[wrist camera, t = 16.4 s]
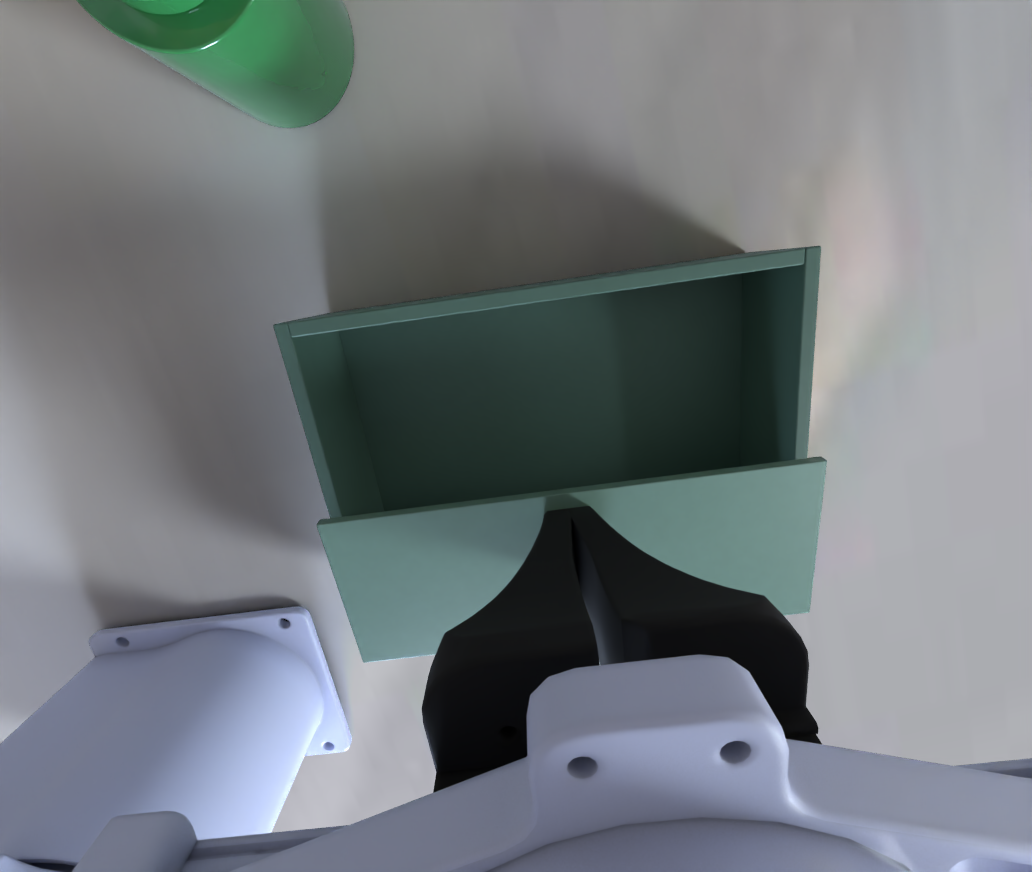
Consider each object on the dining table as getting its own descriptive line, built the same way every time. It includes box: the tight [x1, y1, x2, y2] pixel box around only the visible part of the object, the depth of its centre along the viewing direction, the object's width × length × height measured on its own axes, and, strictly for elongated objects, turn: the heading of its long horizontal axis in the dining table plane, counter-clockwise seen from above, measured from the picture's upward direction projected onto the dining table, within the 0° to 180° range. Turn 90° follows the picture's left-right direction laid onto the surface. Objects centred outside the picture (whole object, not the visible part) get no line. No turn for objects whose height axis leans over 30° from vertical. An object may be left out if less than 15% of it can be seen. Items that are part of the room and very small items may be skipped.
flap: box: [317, 457, 827, 663], centre depth 14 cm, size 5×14×1 cm, turn 98°
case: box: [273, 246, 821, 518], centre depth 16 cm, size 11×14×4 cm
